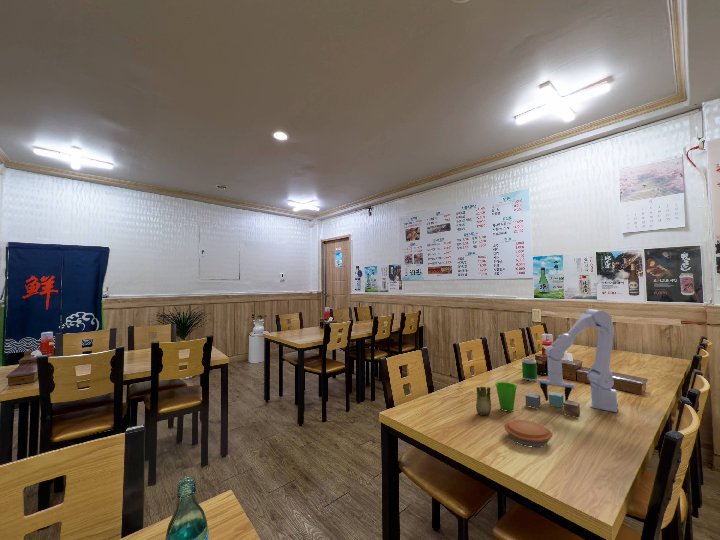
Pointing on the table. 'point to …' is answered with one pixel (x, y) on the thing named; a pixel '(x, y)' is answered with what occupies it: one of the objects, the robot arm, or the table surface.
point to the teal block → (556, 399)
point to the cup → (506, 395)
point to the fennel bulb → (483, 401)
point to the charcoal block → (532, 400)
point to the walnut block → (571, 408)
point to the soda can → (529, 369)
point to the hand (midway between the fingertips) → (556, 402)
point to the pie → (528, 433)
